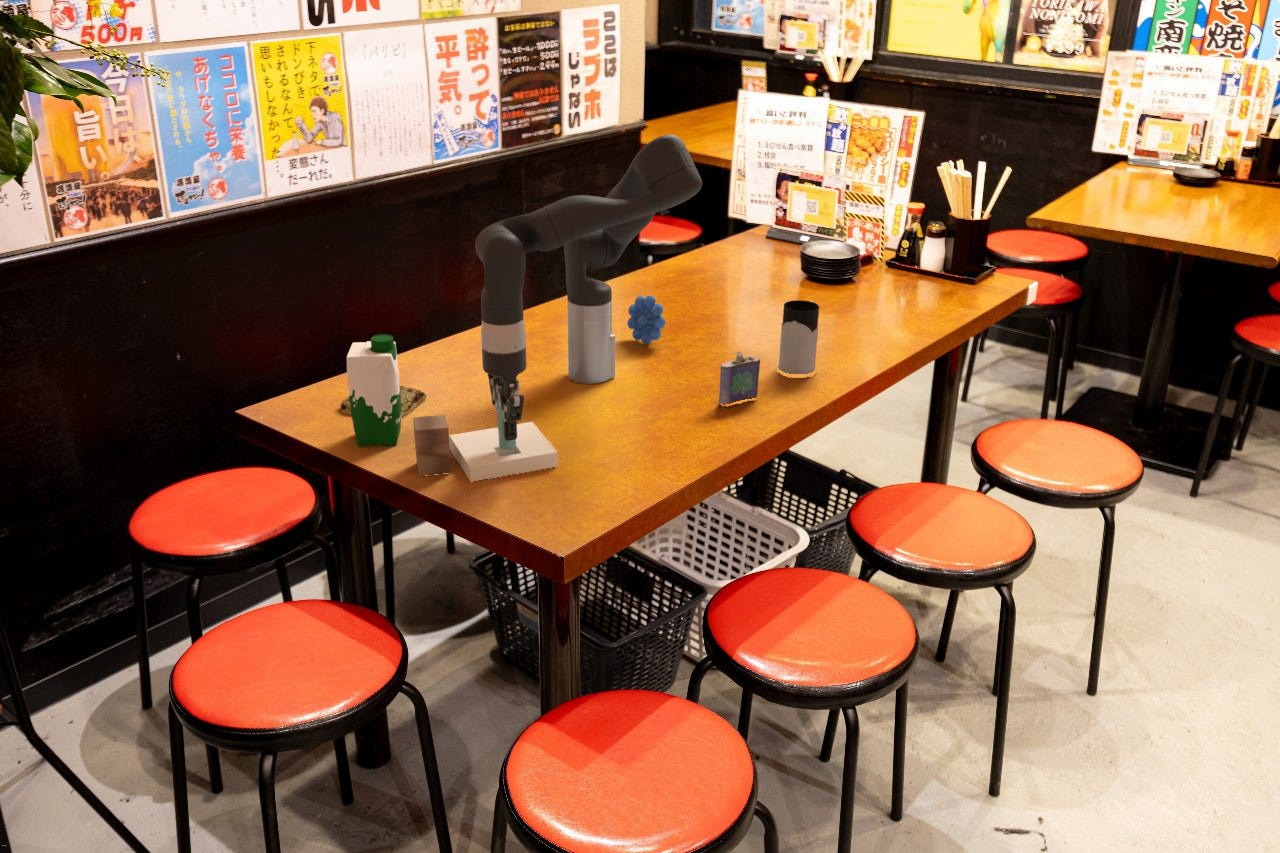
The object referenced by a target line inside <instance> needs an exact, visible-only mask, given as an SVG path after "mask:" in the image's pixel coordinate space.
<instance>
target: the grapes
mask: <svg viewBox="0 0 1280 853" xmlns="http://www.w3.org/2000/svg"><path fill="white" fill-rule="evenodd" d="M656 300H657V299H656V298H655V296H653V295H651V294H649V295H646V296H643V295H638V296H637V297H636V298H635V300H634V303H633V304H631V305H630V306H629V307H628V312H627V313H628V315H629V316H630V317H629V318H628V320H627V327H628V328H629V329H630V330H632V333H631V334H632V338H633V339H634V340H636V341H641V343H642V344H644V345H646V344H647V345H650V344H651V343H652V342H653V341H658V340H659V339H660V338H661V335H662V331H661V330H662V329H664V327H665V325H666V319H665V318H664V316H661V315H663V313H664V306H663V305H662V304H660V303H657V301H656ZM649 343H650V344H649Z"/></svg>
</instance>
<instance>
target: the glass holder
mask: <svg viewBox="0 0 1280 853" xmlns="http://www.w3.org/2000/svg"><path fill="white" fill-rule="evenodd" d="M782 312H783V313H782V314H783V315H782V323H781V329H780V344H779V355H778V356H779V357H778V358H779V360H778V365H777V367H778V368H779V370H781V371H783V372H785V373H789V374H808V373H812V372H813V371H815V369H816V359H817V358H816V357H817V348H818V347H817V346H818V338H819V337H818V335H819V326H818V325H819V316H820V315H819V314H820V306H819V304H817V303H816V302H815V301H814V300H810V301H809V300H803V299H802V300H801V299H799V300H798V299H795V300H788V301H786V302H784V304H783V311H782Z"/></svg>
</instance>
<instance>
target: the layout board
mask: <svg viewBox="0 0 1280 853" xmlns="http://www.w3.org/2000/svg"><path fill="white" fill-rule="evenodd" d="M449 445H450V450H451V451H450V453H451V454H452V455H453V457H454V458H455V460H456V459H457V460H456V461H458V462H459V463H458V462H457V463H458V465H459V464H460V465H459V467H460V468H461V467H462V468H461V469H462V471H463V470H464V471H463V472H465V473H466V474H465V473H464V474H465V476H466V475H467V476H468V477H467V476H466V477H467V478H469V479H470V480H469V479H468V480H469V482H470V481H477V482H479V481H478V480H483V479H488V480H492V478H494V479H497V477H499V478H503V477H502V476H505V477H507V476H506V475H511V476H513V475H512V474H516V475H520V474H519V473H522V474H526V473H525V472H527V473H531V472H530V471H533V472H536V471H535V470H538V471H541V470H540V469H544V470H547V469H546V468H550V469H553V468H552V467H555V468H557V467H556V466H559V465H558V464H559V463H558V459H559V458H558V451H557V450H556V449H555V447H554V446H553V445H552V443H551V442H550V440H548V439H547V437H545V435H544V434H543V433H542V431H540V430H539V428H538V427H537V426H536V424H535V423H534V422H533V421H530V422H523V423H517V438H516V447H515V448H513V449H501V448H500V447H499V434H498V426H497V427H491V428H487V429H486V428H485V429H480V430H473V431H467V432H461V433H456V434H455V433H454V434H449ZM490 478H491V479H490ZM483 481H484V480H483Z"/></svg>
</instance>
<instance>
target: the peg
mask: <svg viewBox="0 0 1280 853" xmlns="http://www.w3.org/2000/svg"><path fill="white" fill-rule="evenodd" d="M503 403H504V404H507V403H508V402H503ZM496 414H497V416H498V418H497V427H498V434H499V447H500V448H501V449H513V448H515V447H516V439H515V440H509V441H506V440H505V438H504V426H503V414H502V409H501V408H500V407H499V401H498V398H497V412H496ZM497 416H496V417H497Z"/></svg>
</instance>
